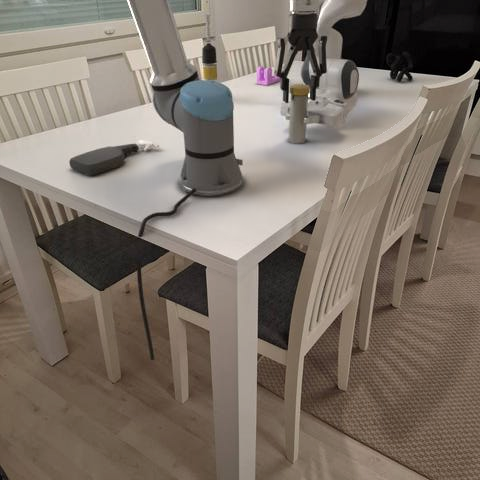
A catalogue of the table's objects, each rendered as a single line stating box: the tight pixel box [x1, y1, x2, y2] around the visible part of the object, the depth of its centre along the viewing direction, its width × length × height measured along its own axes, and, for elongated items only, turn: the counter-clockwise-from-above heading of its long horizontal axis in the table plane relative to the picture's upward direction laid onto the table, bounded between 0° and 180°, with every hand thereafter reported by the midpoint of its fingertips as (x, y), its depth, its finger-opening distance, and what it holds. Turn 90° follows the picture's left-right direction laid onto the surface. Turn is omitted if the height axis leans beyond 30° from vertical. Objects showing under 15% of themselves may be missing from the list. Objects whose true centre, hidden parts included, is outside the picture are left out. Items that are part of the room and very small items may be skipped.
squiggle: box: [385, 51, 414, 83], centre depth 198 cm, size 11×10×15 cm
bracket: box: [256, 66, 281, 86], centre depth 200 cm, size 13×6×7 cm, turn 143°
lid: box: [289, 83, 310, 95], centre depth 128 cm, size 6×6×2 cm
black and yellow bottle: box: [201, 14, 218, 82], centre depth 171 cm, size 6×6×30 cm
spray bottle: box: [68, 139, 160, 177], centre depth 124 cm, size 3×11×24 cm
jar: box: [288, 94, 309, 144], centre depth 132 cm, size 5×5×16 cm
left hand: (299, 100), depth 129 cm, fingers open, 8 cm apart
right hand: (296, 119), depth 131 cm, fingers closed on jar, 5 cm apart
